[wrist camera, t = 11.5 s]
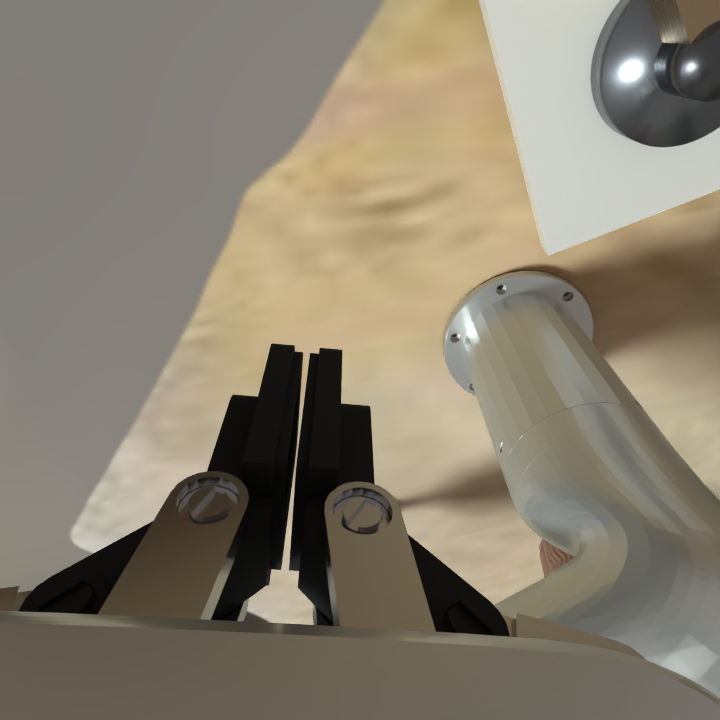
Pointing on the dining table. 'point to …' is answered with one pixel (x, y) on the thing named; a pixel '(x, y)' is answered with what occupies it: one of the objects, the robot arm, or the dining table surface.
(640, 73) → the cam dial
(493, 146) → the dining table surface
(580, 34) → the base plate
